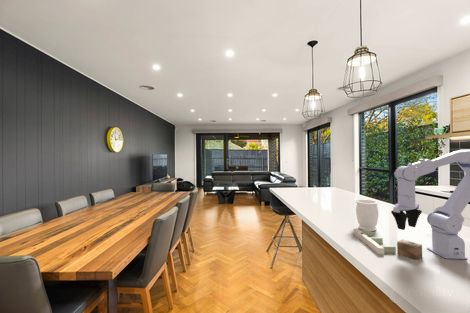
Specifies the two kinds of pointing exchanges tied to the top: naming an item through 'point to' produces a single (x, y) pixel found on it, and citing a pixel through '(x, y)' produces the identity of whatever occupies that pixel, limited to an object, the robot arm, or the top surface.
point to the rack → (374, 242)
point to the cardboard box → (409, 249)
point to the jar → (367, 214)
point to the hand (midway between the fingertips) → (406, 227)
